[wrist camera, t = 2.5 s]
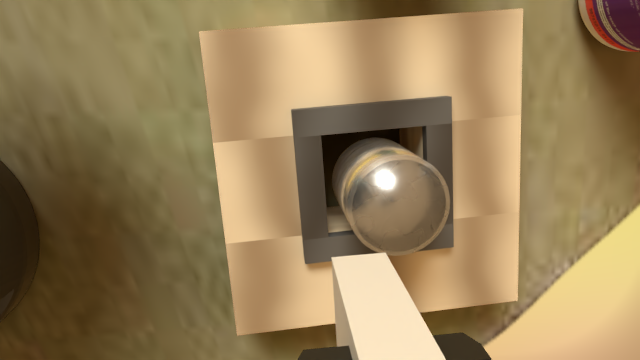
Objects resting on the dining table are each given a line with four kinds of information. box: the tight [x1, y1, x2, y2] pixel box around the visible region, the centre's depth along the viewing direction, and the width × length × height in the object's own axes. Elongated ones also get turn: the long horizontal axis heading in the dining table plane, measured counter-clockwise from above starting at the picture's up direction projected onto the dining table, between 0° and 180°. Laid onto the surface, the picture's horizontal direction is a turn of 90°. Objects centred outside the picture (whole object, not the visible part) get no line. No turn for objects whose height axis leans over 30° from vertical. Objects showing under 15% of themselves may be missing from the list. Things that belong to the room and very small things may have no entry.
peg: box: [332, 137, 450, 256], centre depth 27 cm, size 5×5×6 cm
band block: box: [199, 8, 523, 336], centre depth 32 cm, size 18×18×6 cm
